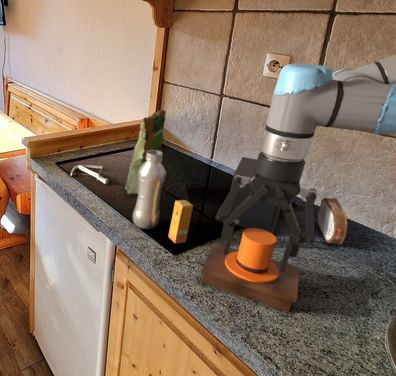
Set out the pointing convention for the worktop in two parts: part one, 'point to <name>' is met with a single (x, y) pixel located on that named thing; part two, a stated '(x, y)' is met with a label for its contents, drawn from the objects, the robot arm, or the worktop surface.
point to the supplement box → (180, 221)
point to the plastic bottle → (149, 191)
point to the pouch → (145, 147)
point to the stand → (261, 292)
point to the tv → (257, 213)
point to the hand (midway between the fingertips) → (253, 259)
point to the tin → (332, 221)
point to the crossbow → (91, 172)
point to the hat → (254, 257)
